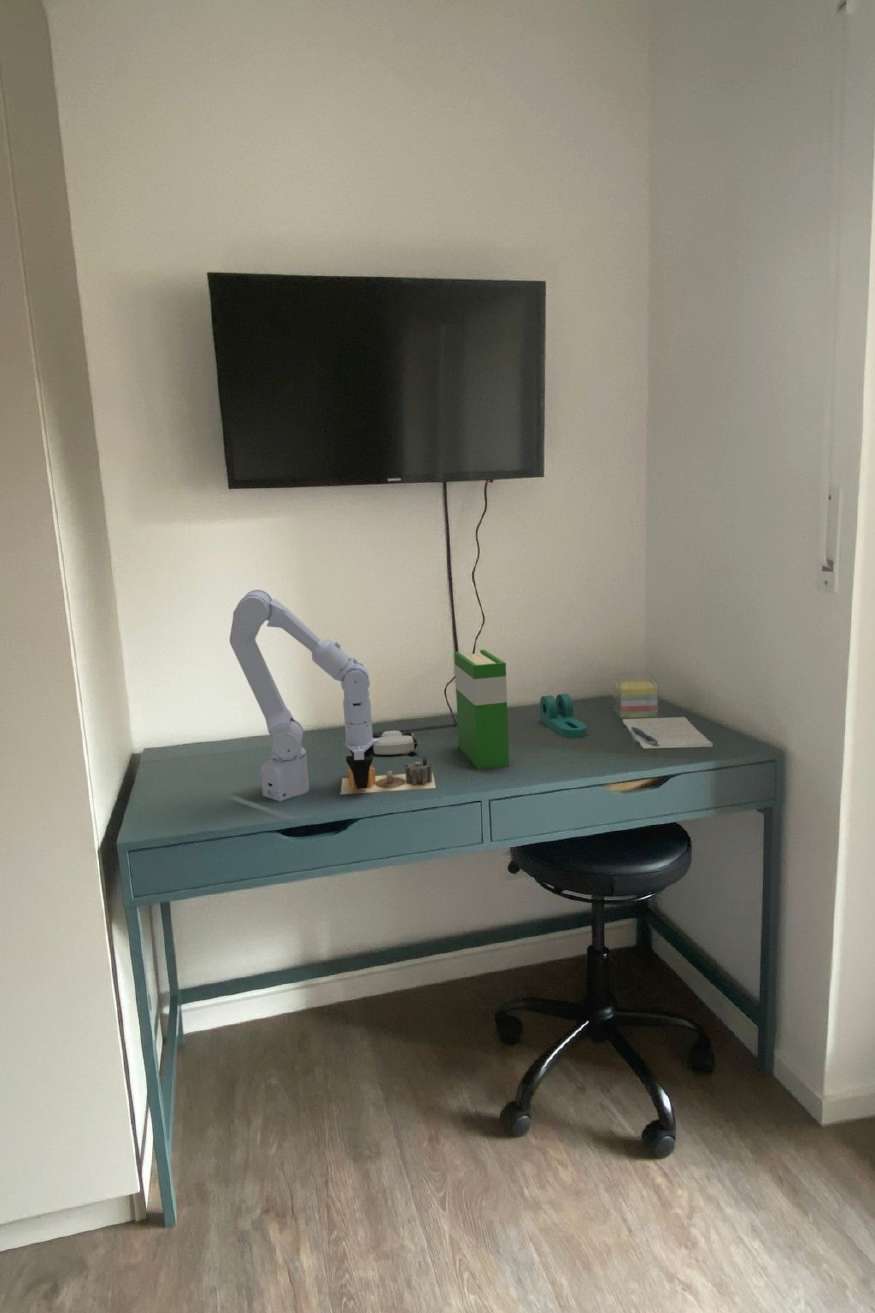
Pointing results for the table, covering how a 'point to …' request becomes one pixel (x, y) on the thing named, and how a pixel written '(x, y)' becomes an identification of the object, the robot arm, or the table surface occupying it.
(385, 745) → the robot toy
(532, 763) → the table surface
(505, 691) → the hardback book
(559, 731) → the bracket
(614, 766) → the table surface
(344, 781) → the gear board
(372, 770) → the orange gear
